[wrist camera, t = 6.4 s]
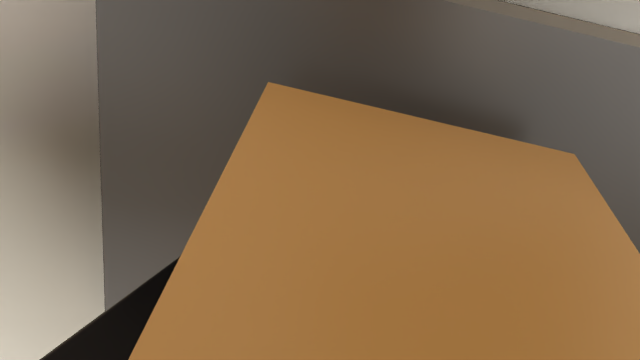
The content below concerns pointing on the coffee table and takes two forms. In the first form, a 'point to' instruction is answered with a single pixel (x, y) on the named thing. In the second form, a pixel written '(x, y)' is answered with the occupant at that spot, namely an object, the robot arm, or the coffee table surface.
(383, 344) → the orange button cube
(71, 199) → the coffee table surface
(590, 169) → the junction plate
